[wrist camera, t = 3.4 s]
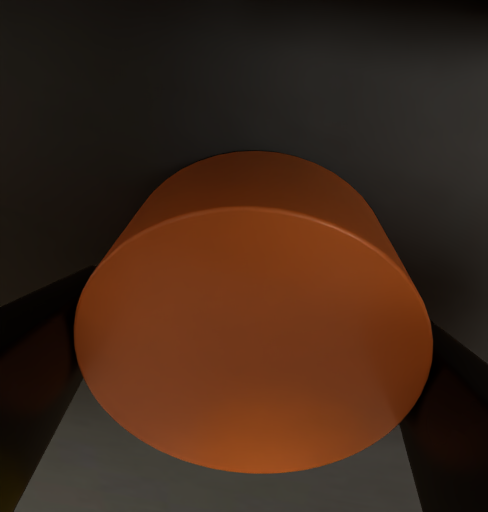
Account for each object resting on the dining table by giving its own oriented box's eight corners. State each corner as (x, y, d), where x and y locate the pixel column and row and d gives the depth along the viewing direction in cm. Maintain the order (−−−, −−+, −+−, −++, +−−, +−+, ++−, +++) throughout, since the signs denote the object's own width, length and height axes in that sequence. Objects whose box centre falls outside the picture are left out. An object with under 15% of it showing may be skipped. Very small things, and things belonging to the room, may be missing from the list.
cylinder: (348, 386, 11) (371, 492, 9) (128, 355, 11) (86, 453, 9) (429, 173, 8) (503, 241, 6) (122, 128, 8) (51, 176, 5)
